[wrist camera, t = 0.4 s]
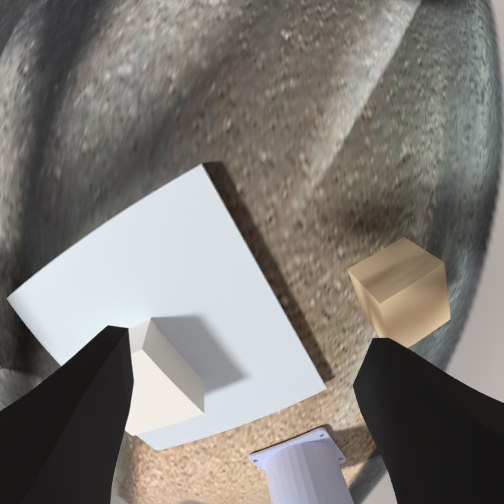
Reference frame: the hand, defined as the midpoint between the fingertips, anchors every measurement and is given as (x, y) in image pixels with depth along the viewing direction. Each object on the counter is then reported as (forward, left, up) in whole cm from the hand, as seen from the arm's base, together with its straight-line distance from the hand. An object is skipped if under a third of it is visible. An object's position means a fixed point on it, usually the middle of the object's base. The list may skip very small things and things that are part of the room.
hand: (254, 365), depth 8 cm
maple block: (-7, -8, -10) cm, 14 cm away
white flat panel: (-4, +7, -10) cm, 13 cm away
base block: (-4, +9, -9) cm, 13 cm away
